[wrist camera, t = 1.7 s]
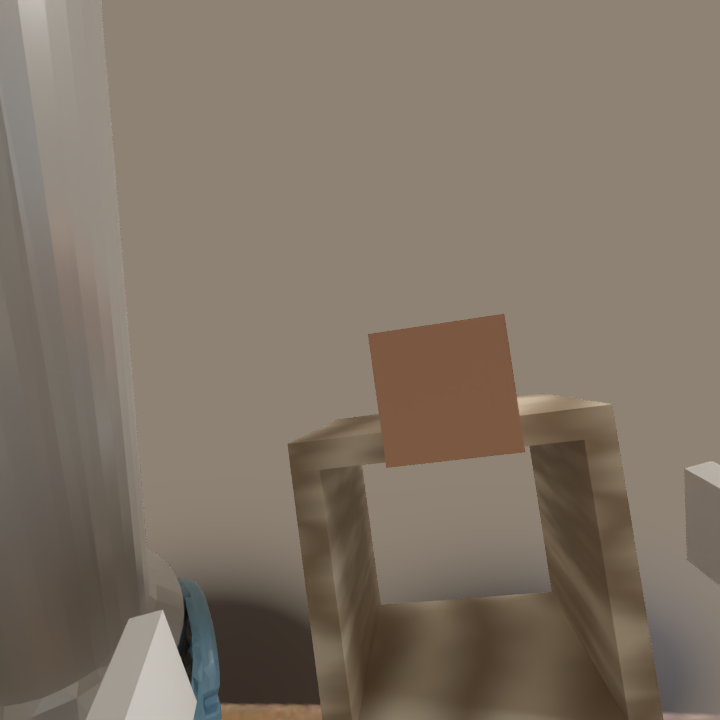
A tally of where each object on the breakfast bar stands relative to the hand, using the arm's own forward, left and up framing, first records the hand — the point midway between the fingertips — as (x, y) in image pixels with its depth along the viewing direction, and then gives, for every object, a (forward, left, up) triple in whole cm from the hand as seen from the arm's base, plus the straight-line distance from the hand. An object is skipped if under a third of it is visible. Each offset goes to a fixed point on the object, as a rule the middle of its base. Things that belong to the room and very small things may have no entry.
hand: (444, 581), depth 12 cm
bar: (+1, +14, +3) cm, 14 cm away
